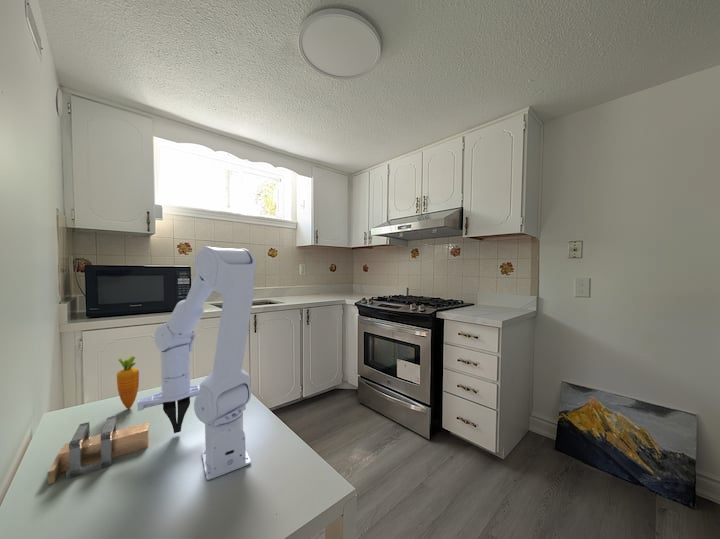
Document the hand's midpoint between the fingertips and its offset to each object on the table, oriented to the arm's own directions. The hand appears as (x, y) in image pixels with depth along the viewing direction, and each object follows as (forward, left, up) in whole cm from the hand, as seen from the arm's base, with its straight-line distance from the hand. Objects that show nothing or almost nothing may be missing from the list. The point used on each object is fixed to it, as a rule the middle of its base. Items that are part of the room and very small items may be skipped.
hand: (177, 430), depth 68 cm
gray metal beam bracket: (0, +15, -1) cm, 15 cm away
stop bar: (0, +20, -1) cm, 20 cm away
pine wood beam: (+1, +13, -2) cm, 13 cm away
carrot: (+23, +11, -1) cm, 26 cm away
